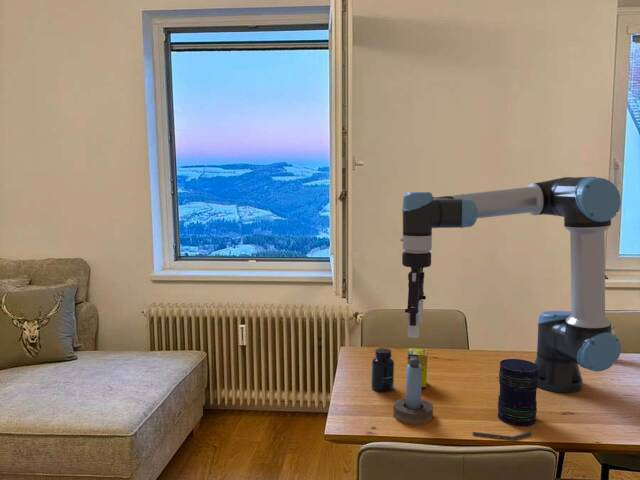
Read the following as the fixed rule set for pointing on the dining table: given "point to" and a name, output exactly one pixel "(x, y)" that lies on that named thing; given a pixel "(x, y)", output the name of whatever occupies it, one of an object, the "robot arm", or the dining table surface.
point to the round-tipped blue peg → (413, 385)
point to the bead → (413, 412)
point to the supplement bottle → (382, 371)
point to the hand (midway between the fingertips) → (415, 330)
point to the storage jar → (518, 392)
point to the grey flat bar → (503, 435)
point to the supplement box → (420, 362)
